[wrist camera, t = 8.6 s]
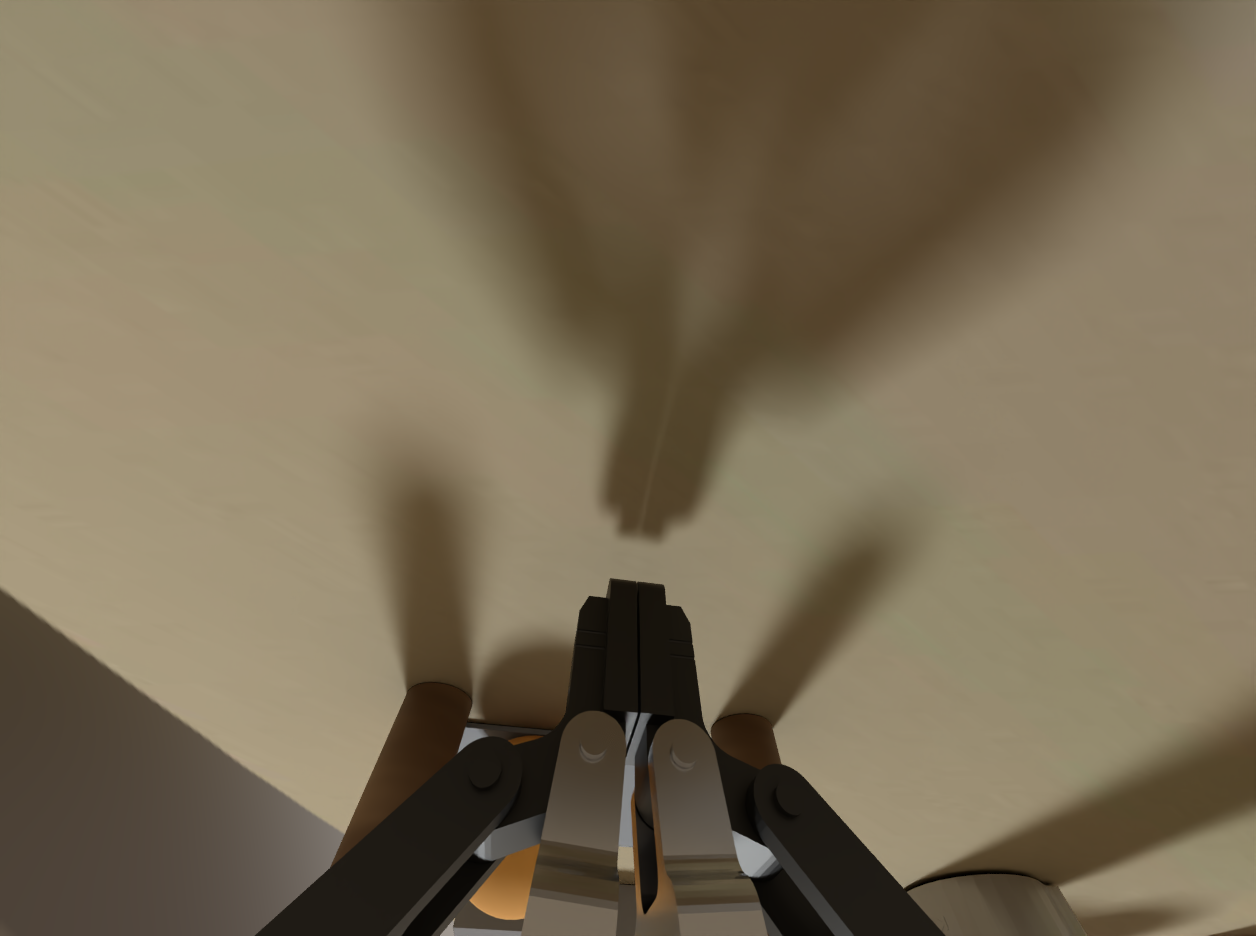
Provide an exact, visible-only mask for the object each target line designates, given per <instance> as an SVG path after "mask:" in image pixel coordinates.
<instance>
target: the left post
mask: <svg viewBox="0 0 1256 936" xmlns="http://www.w3.org/2000/svg"><path fill="white" fill-rule="evenodd" d="M471 708H472V702H471V699H470V698H469V696H468V695H467V694H465V693H464V692H463V691H461V690H459V689H458V688H455V687H453V686H450V685H446V684H441V683H422V684H418V685H415V686H413V687H412V688H410V689H409V691H408V692H407V694H406V697H405V699H404V701H403V704H402V706H401V708H400V710H399V713H398V715H397V717H396V719H395V722H394V724H393V726H392V728H391V731H390V733H389V735H388V738H387V740H386V742H385V744H384V747H383V749H382V751H381V753H380V756H379V758H378V760H377V763H376V765H375V767H374V769H373V772H372V774H371V776H370V778H369V781H368V783H367V785H366V787H365V790H364V792H363V794H362V797H361V799H360V801H359V803H358V806H357V808H356V810H355V812H354V815H353V817H352V819H351V821H350V824H349V826H348V828H347V831H346V833H345V835H344V837H343V840H342V842H341V844H340V846H339V849H338V851H337V853H336V856H335V858H334V860H333V862H332V865H331V867H332V866H333V865H334V864H335V863H336V862H337V861H338V860H340V859H341V858H342V857H343V856H344V855H345V854H346V853H347V852H348V851H350V850H351V849H352V848H353V847H354V846H355V845H356V844H357V843H358V842H360V841H361V840H362V839H363V838H364V837H365V836H366V835H367V834H369V833H370V832H371V831H372V830H373V829H374V828H375V827H376V826H377V825H379V824H380V823H381V822H382V821H383V820H384V819H385V818H386V817H387V816H389V815H390V814H391V813H392V812H393V811H394V810H395V809H396V808H397V807H399V806H400V805H401V804H402V803H403V802H404V801H405V800H406V799H407V798H409V797H410V796H411V795H412V794H413V793H414V792H415V791H416V790H417V789H419V788H420V787H421V786H422V785H423V784H424V783H425V782H426V781H427V780H429V779H430V778H431V777H432V776H433V775H434V774H435V773H436V772H437V771H439V770H440V769H441V768H442V767H443V766H444V765H445V764H446V763H448V762H449V761H450V760H451V759H452V758H453V757H454V756H455V755H456V754H457V753H458V750H459V747H460V743H461V740H462V737H463V734H464V730H465V727H466V724H467V721H468V717H469V714H470V711H471ZM331 867H330V868H331Z"/></svg>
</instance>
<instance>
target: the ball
mask: <svg viewBox="0 0 1256 936" xmlns="http://www.w3.org/2000/svg"><path fill="white" fill-rule="evenodd" d="M540 737H543V736H537V735H533V736H522V737H517V738H514V739H511V740H508V741H509V742H511V743H512V744H513V745H516V744H520V743H524V742H527V741H531V740H535V739H538V738H540ZM539 846H540V844H538V845H535V846H532V847H529V848H527V849H524V850H521V851H518V852H515V853H513V854H510V855H507V856H506V857H505V859H504V860H503V861H502V862H501V863H500V864H499V866H498V867H497V868H496V869H495V870H494V872H493V873H492V874H491V875H490V876H489V878H488V879H487V880H486V881H485V882H484V884H483V885H482V886H481V887H480V888H479V889H478V891H477V892H476V893H475V894H474V895H473V897H472V898H471V899H470V900H469V901H470V902H471V903H473V904H474V905H475V906H476V907H477V908H478V909H480V910H481V911H483V912H484V913H486V914H488V915H491V916H493V917H496V918H500V919H505V920H518V919H523V918H525V913H526V908H527V903H528V898H529V893H530V888H531V883H532V878H533V873H534V869H535V864H536V860H537V856H538V851H539Z"/></svg>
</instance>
